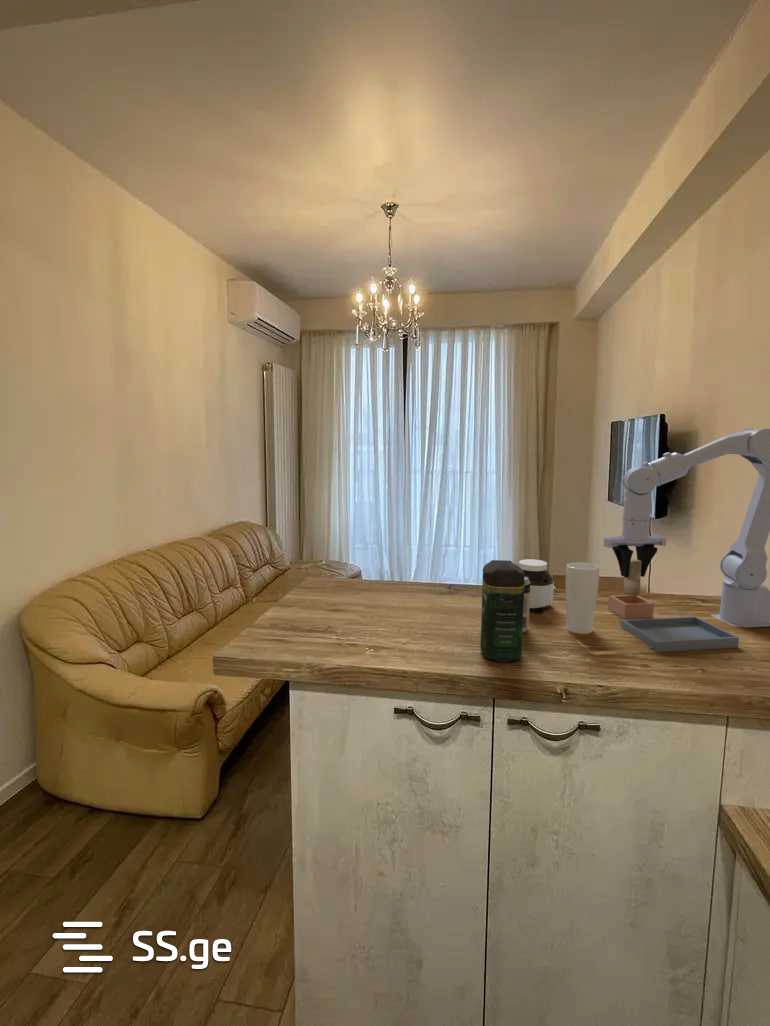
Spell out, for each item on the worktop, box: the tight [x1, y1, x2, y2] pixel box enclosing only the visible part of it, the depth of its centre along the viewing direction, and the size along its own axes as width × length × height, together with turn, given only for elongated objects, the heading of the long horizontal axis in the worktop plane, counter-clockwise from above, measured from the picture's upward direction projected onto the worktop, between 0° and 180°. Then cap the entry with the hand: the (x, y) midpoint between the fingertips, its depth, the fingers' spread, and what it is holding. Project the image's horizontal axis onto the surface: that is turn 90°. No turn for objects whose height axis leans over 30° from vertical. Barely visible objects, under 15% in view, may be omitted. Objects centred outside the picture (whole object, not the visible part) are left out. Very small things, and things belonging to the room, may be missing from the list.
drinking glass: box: [565, 561, 600, 635], centre depth 120 cm, size 7×7×15 cm
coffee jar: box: [480, 559, 525, 663], centre depth 108 cm, size 10×8×19 cm
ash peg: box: [623, 558, 642, 596], centre depth 130 cm, size 4×4×8 cm
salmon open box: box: [607, 594, 655, 620], centre depth 131 cm, size 7×7×4 cm
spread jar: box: [518, 558, 555, 613], centre depth 136 cm, size 12×11×12 cm
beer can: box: [522, 576, 530, 634], centre depth 121 cm, size 5×5×12 cm
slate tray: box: [620, 615, 740, 653], centre depth 117 cm, size 18×13×2 cm
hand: (632, 576), depth 130 cm, fingers closed on ash peg, 3 cm apart
